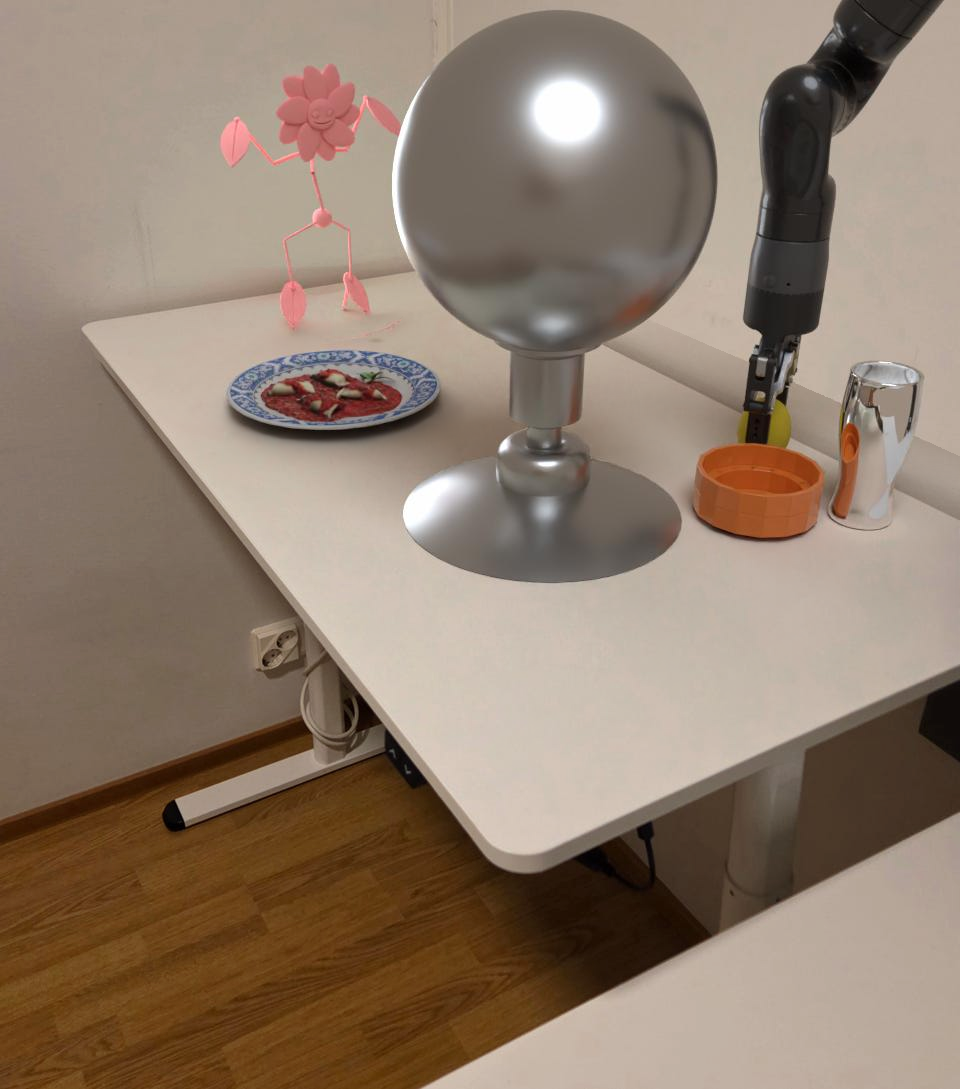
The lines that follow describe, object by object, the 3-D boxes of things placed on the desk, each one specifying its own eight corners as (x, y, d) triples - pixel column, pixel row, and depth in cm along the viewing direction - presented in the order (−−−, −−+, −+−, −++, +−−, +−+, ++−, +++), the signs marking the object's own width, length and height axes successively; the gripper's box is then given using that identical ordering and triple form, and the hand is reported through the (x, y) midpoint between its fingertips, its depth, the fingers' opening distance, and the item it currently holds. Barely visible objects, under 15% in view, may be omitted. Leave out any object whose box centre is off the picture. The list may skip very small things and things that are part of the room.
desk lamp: (570, 617, 93) (601, 29, 71) (345, 516, 109) (313, 10, 87) (733, 504, 111) (798, 10, 89) (520, 432, 127) (531, -3, 105)
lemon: (723, 463, 120) (731, 394, 116) (754, 450, 123) (764, 382, 119) (764, 480, 116) (774, 409, 112) (796, 466, 119) (807, 396, 115)
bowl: (793, 485, 115) (800, 441, 113) (834, 541, 105) (842, 494, 102) (680, 488, 114) (685, 444, 112) (709, 545, 104) (715, 497, 101)
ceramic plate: (290, 464, 119) (288, 439, 118) (193, 393, 137) (190, 370, 136) (482, 411, 132) (483, 388, 131) (371, 352, 150) (370, 331, 149)
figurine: (231, 326, 160) (203, 65, 143) (388, 299, 172) (379, 55, 155) (273, 356, 149) (247, 77, 132) (438, 325, 161) (434, 65, 144)
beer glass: (808, 514, 109) (833, 370, 102) (847, 493, 114) (873, 354, 106) (871, 539, 105) (901, 391, 98) (909, 517, 109) (941, 373, 102)
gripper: (810, 303, 103) (785, 463, 111) (837, 267, 114) (813, 414, 122) (730, 293, 106) (712, 450, 114) (765, 258, 117) (746, 403, 125)
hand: (764, 431), depth 118 cm, fingers open, 7 cm apart
